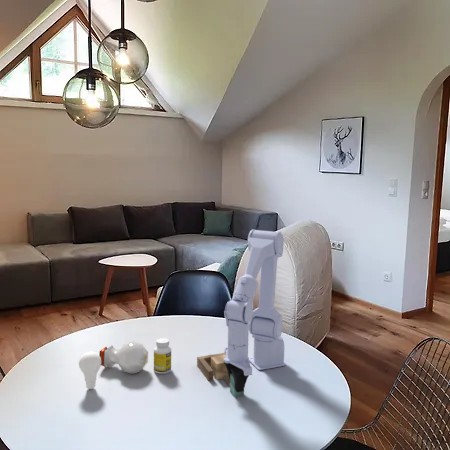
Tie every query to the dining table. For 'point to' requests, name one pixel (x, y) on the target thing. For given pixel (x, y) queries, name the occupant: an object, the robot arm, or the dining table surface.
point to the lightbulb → (90, 367)
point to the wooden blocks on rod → (223, 373)
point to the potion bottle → (125, 357)
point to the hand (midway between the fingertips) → (237, 388)
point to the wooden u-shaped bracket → (206, 365)
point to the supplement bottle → (162, 356)
